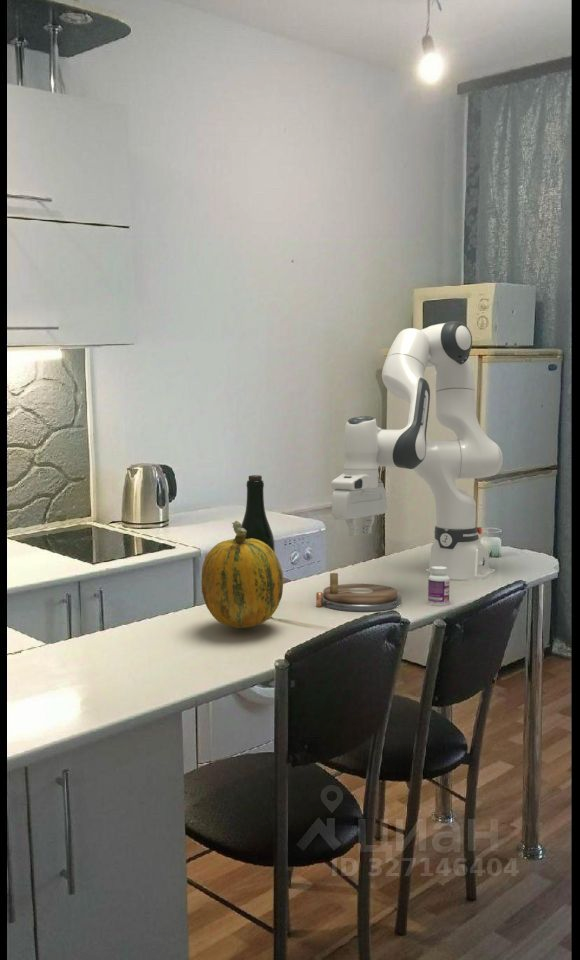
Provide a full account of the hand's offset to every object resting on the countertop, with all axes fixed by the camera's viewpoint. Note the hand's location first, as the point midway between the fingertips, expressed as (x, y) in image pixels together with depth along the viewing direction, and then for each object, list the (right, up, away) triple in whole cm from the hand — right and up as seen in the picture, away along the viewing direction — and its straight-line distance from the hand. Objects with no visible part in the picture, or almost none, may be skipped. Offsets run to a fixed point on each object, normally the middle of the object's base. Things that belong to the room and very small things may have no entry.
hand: (360, 534), depth 237 cm
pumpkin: (-29, -20, -21) cm, 41 cm away
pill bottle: (+20, -18, -1) cm, 27 cm away
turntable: (0, -16, +1) cm, 16 cm away
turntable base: (0, -18, +2) cm, 18 cm away
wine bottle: (-27, -18, 0) cm, 32 cm away
